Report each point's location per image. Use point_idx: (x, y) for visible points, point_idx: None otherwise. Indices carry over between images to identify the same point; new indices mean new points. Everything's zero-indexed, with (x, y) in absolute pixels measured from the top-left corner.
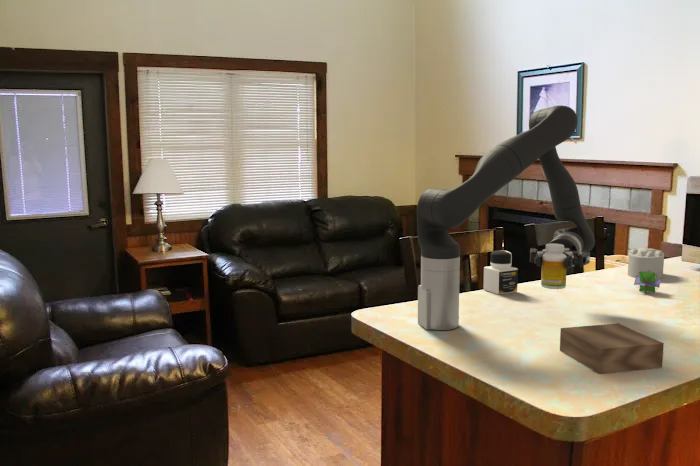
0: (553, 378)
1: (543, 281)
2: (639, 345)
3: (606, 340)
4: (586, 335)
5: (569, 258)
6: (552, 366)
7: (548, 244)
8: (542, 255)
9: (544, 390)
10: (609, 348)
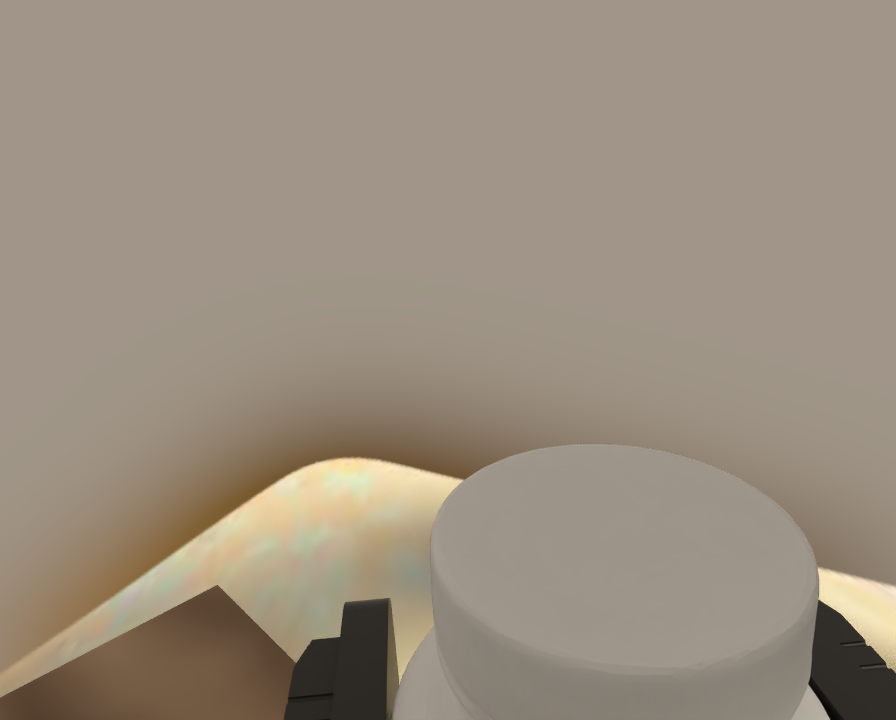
0: (384, 577)
1: None
2: (17, 689)
3: (164, 686)
4: (256, 710)
5: (335, 700)
6: (405, 657)
7: (727, 504)
8: (824, 703)
9: (393, 516)
10: (179, 605)
